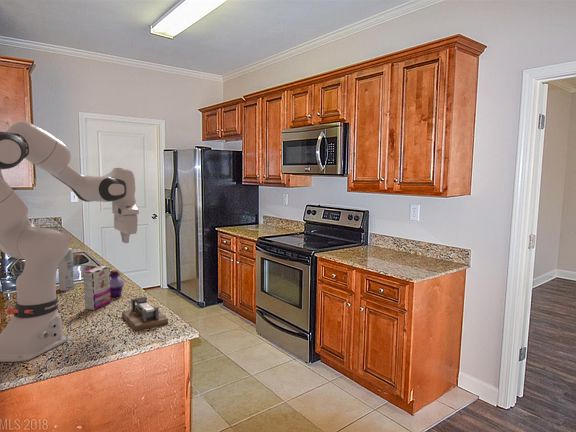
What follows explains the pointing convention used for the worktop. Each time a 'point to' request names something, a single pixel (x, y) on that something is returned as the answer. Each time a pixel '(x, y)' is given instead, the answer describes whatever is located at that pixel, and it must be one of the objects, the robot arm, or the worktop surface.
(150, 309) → the clamp bar
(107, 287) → the candy bar box
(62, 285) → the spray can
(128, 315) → the walnut base plate
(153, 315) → the block
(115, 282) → the potion bottle
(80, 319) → the worktop surface
